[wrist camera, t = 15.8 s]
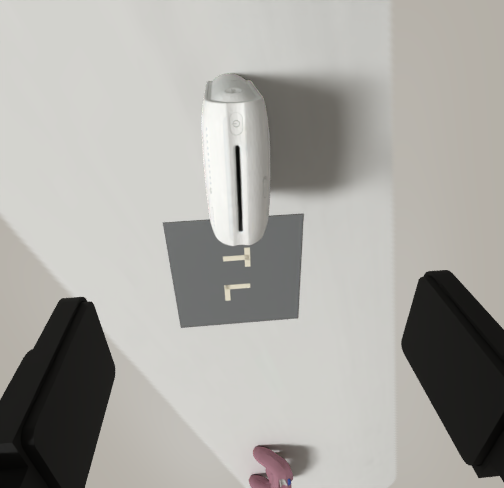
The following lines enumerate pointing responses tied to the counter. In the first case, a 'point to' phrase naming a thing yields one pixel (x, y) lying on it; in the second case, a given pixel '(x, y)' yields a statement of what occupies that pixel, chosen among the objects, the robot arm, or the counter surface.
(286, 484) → the video game controller
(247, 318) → the dark gray panel
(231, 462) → the counter surface
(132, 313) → the counter surface
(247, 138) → the photo printer
